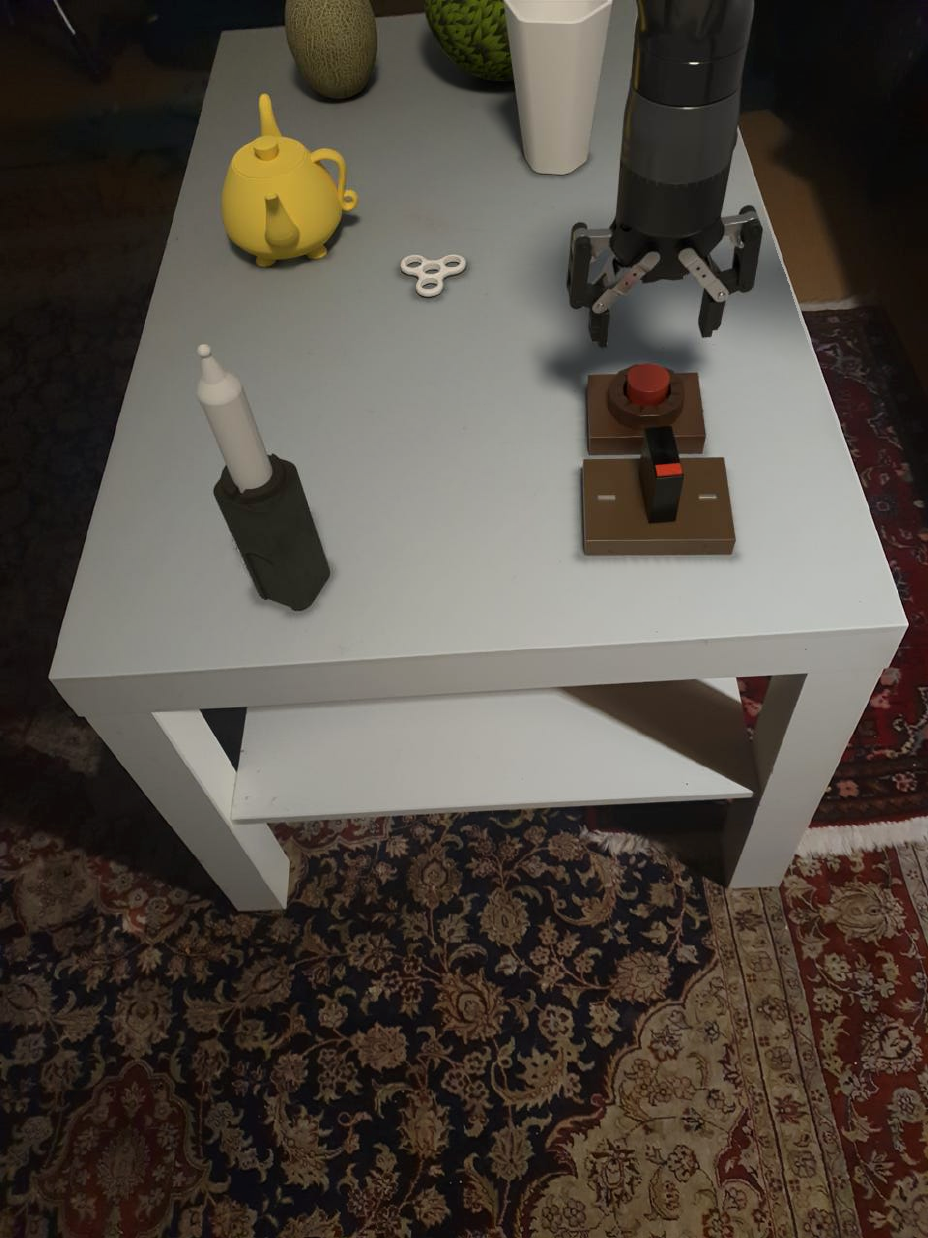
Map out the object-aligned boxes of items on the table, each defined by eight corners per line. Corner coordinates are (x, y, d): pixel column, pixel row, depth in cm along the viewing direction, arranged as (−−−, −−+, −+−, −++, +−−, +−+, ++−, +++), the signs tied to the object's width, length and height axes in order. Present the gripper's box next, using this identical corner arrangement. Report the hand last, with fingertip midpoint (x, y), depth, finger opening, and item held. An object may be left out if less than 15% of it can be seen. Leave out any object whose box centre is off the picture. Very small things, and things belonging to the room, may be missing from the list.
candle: (335, 568, 78) (259, 328, 57) (305, 614, 75) (214, 382, 54) (284, 550, 79) (191, 310, 58) (252, 595, 77) (144, 362, 56)
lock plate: (720, 472, 80) (724, 455, 78) (731, 555, 75) (736, 538, 74) (582, 474, 81) (583, 457, 80) (584, 555, 76) (585, 539, 75)
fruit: (282, 94, 121) (252, -36, 108) (348, 60, 125) (327, -69, 112) (335, 124, 116) (310, -8, 103) (403, 88, 120) (386, -44, 107)
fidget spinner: (467, 258, 99) (466, 252, 98) (461, 297, 95) (461, 291, 95) (402, 259, 100) (402, 253, 99) (395, 298, 96) (394, 291, 96)
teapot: (372, 284, 98) (354, 183, 88) (234, 306, 98) (200, 207, 88) (355, 179, 109) (337, 79, 99) (231, 198, 109) (201, 100, 99)
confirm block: (694, 390, 86) (700, 356, 83) (702, 453, 82) (709, 420, 78) (586, 392, 87) (588, 359, 83) (589, 455, 82) (591, 422, 79)
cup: (558, 195, 104) (561, 33, 90) (492, 165, 108) (484, 6, 94) (619, 150, 108) (631, -12, 94) (553, 123, 112) (554, -36, 98)
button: (665, 377, 82) (668, 362, 81) (668, 406, 80) (671, 391, 79) (625, 378, 82) (626, 363, 81) (627, 407, 80) (628, 392, 79)
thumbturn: (638, 473, 78) (644, 425, 73) (664, 471, 78) (672, 422, 73) (648, 524, 75) (656, 476, 70) (675, 521, 75) (684, 474, 70)
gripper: (769, 105, 64) (728, 298, 78) (565, 126, 65) (561, 314, 78) (796, 167, 60) (748, 359, 74) (579, 189, 61) (571, 375, 74)
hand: (652, 336), depth 76 cm, fingers open, 8 cm apart
